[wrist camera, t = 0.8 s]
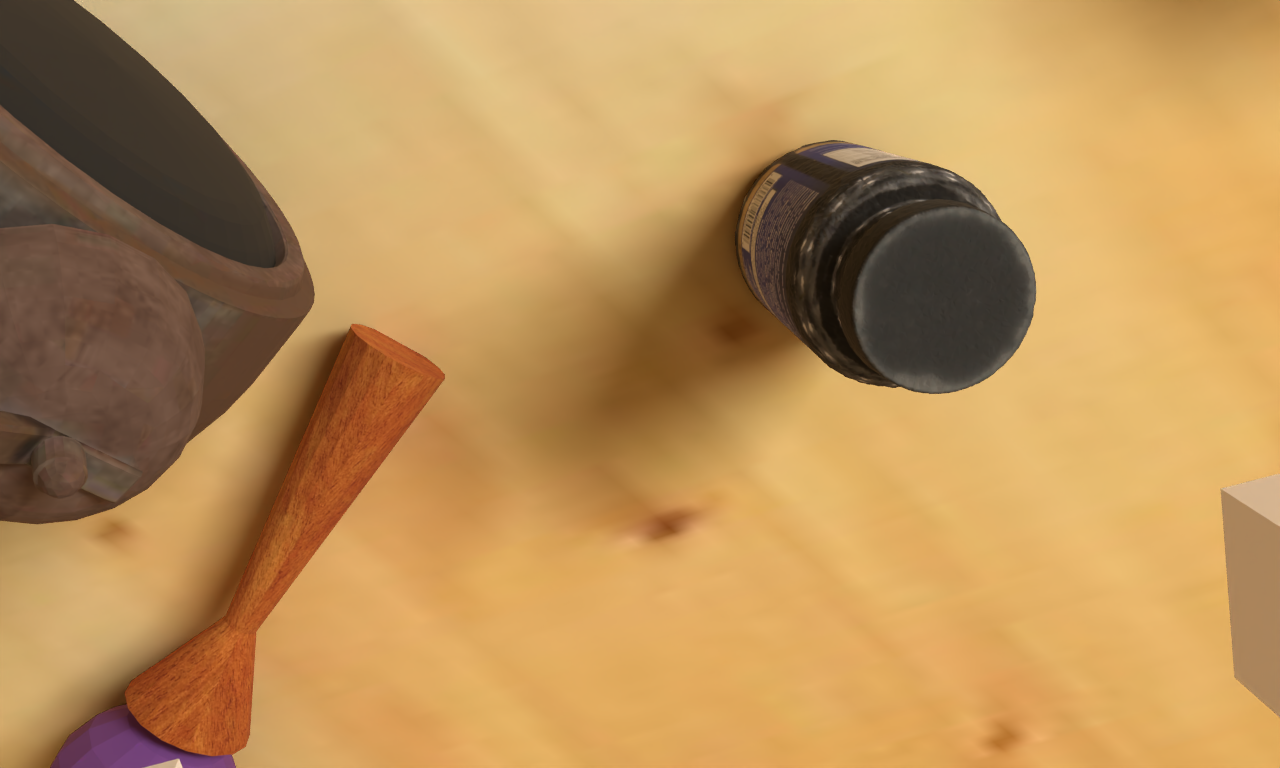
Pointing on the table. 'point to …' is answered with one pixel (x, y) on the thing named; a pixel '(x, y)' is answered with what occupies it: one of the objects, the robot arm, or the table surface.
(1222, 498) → the robot arm
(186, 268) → the alarm clock
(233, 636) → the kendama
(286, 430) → the table surface
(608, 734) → the table surface
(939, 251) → the pill bottle
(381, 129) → the table surface
